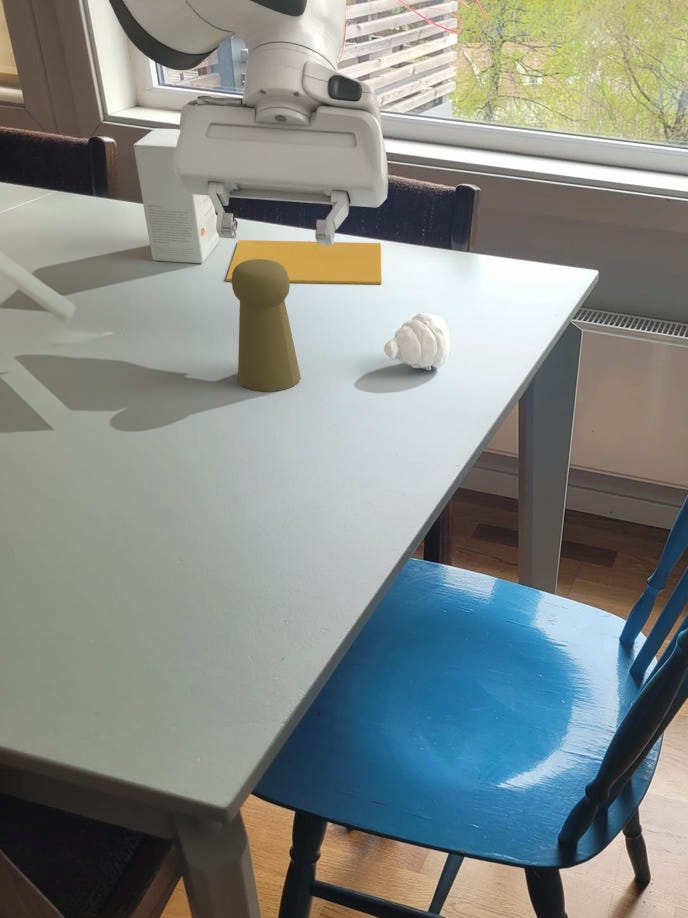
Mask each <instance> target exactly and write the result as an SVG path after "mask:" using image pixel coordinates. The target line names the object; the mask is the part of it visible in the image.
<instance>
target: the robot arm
mask: <svg viewBox="0 0 688 918" xmlns="http://www.w3.org/2000/svg"><path fill="white" fill-rule="evenodd" d="M108 2H109V4H110V7H111V9H112V10H113V13H114V15H115V17H116V19H117V22H118V23H119V25H120V27H121V28H122V30H123V31H124V34H125V35H126V37H127V38H128V40H129V41H130V42H131V43H132V45H133V46H134V47H135V48H136V49H138V51H140V52H141V53H142V54H143V55H144V56H145V57H147V58H148V59H150V60H152V61H153V62H154V63H156V64H158V65H160V66H162V67H165V68H168V69H170V70H173V71H174V70H175V71H189V70H193V69H195V68H197V67H198V66H200V65H201V64H202V63H203V62H204V61H205V60H206V59H207V58H209V56H211V55H212V54H213V53H214V52H215V51H216V50H218V49H219V47H220V46H221V45H222V44H224V43H225V42H227V41H228V40H229V39H231V38H233V37H234V36H237V38H240V39H241V40H242V41H243V42H244V43H245V45H246V47H247V55H246V64H245V73H244V82H243V89H242V97H231V96H225V97H213V96H210V95H199V96H197V97H196V99H193V100H190V101H189V102H187V103H186V104H184V105H183V106H182V108H181V110H180V111H181V112H180V118H179V129H180V134H179V137H178V141H177V145H176V150H175V154H174V160H173V169H174V172H175V175H176V177H177V179H178V180H179V182H180V183H181V185H182V186H183V188H184V189H185V190H186V191H187V192H188V193H189V194H194V195H209V197H210V199H211V201H212V203H213V205H214V208H215V213H216V221H217V224H216V230H217V233H218V237H219V238H222V239H236V238H237V230H238V226H239V225H238V224H239V223H238V220H237V219H236V216H235V215H234V213H233V212H232V213H231V212H226V211H225V209H224V207H223V206H225V207H227V206H229V204H230V203H229V202H230V198H237V199H238V198H239V199H252V200H266V201H280V202H282V201H283V202H292V203H293V202H295V203H308V204H321V205H331V206H332V209H331V210H330V212H329V213H328V215H327V216H326V218H325V219H316V224H315V227H316V229H315V234H314V235H315V237H314V238H315V242H317V244H318V245H328V246H333V244H334V242H335V234H336V231H337V230H338V229H339V228H340V226H341V225H342V223H343V222H344V221H345V220H346V218H347V217H348V216H349V211H350V207H362V208H363V207H364V208H365V207H366V208H379V207H380V206H382V205H383V203H384V202H385V201H386V200H387V199H388V193H389V167H388V157H387V152H386V151H387V149H386V145H385V140H384V135H383V131H382V115H381V108H380V105H379V101H378V98H377V95H376V93H375V89H374V88H373V86H371V85H370V84H368V83H366V82H364V81H361V80H359V79H356V78H354V77H351V76H348V75H347V74H344V73H341V72H339V68H338V67H339V66H338V58H339V55H340V54H341V51H342V47H343V44H344V37H345V27H346V14H347V0H108Z"/></svg>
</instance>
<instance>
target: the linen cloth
mask: <svg viewBox="0 0 688 918" xmlns="http://www.w3.org/2000/svg"><path fill="white" fill-rule="evenodd" d="M253 259H266V260H272V261H275V262H277V263H279V264H281V265H282V266H283V267H284V268H285V270H286V271H287V274H288V277H289V283H294V284H295V283H299V284H347V285H348V284H351V285H352V284H353V285H354V284H355V285H382V244H381V242H348V241H347V242H344V241H334V244H333V246H328V245H318V244H317V241H302V240H301V241H299V240H298V241H297V240H255V239H254V240H253V239H251V240H249V239H248V240H246V239H239V240H238V241H237V244H236V248H235V250H234V254H233V257H232V260H231V263H230V266H229V268H228V272H227V275H226V280H225V281H226V282H232V280H231V278H232V273H233V270H234V268H235V267H236V266H237V265H238V264H240V263H242V262H244V261H247V260H253Z"/></svg>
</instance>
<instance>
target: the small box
mask: <svg viewBox="0 0 688 918" xmlns="http://www.w3.org/2000/svg"><path fill="white" fill-rule="evenodd" d="M179 134H180V128H179V129H178V128H158V127H157V128H156V127H155V128H153V129H152V130H151V131H150V132H148V133H147V134H146V135H144V136H143V137H142V138H141V139H139V140H137V141H136V142H135V143H134V144H132V146H133V151H134V157H135V164H136V170H137V174H138V175H137V176H138V180H139V188H140V194H141V198H142V205H143V212H144V218H145V223H146V228H147V235H148V241H149V246H150V248H149V249H150V253H151V258H152V260H153V261H154V262H155V261H156V262H173V263H174V262H175V263H188V264H203V263H204V261H205V260H206V259H207V258H208V257H209V255H210V254H211V253H212V252H213V250H214V249H215V248H216V246H217V245H218V244H220V239H219V238H220V237H219V235H218V233H217V230H216V224H217V213H216V210H215V208H214V205H213V203H212V201H211V199H210V197H209V195H194V194H189V193H188V192H187V191H186V190H185V189H184V188H183V186H182V185H181V183H180V182H179V180H178V179H177V177H176V175H175V172H174V169H173V160H174V154H175V150H176V145H177V141H178V137H179Z"/></svg>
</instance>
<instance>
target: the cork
mask: <svg viewBox="0 0 688 918" xmlns="http://www.w3.org/2000/svg"><path fill="white" fill-rule="evenodd" d="M231 280H232V281H231V288H232V291H233V294H234V296H235V297H236V298H237V300H238V301H239V318H238V319H239V322H238V358H237V359H238V360H237V362H238V363H237V380H238V383H239V384H240V385H241V386H242V387H244V388H246V389H248V390H252V391H256V392H265V393H266V392H279V391H283V390H287V389H291V388H293V387H295V386H296V385H297V384H299V383H300V381H301V380H302V376H301V372H300V367H299V362H298V358H297V353H296V348H295V343H294V339H293V334H292V329H291V324H290V320H289V315H288V309H287V305H286V301H285V300H286V298H287V296H288V295H289V292H290V289H291V288H290V287H291V286H290V282H289V277H288V274H287V271H286V270H285V268H284V267H283V266H282V265H281V264H279V263H277V262H275V261H272V260H266V259H253V260H247V261H244V262H242V263H240V264H238V265H237V266H236V267H235V268H234V270H233V273H232V278H231Z"/></svg>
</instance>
